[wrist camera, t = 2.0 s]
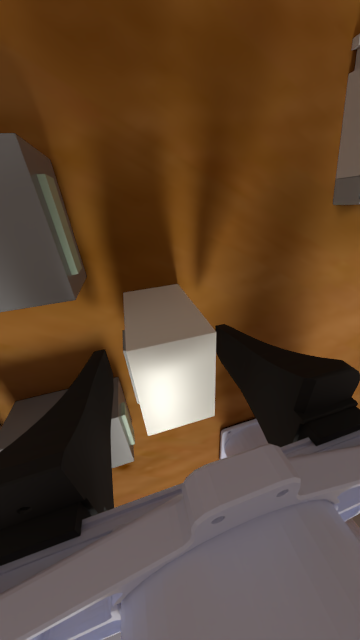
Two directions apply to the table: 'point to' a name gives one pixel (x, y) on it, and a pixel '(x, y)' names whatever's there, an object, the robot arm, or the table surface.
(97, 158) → the table surface
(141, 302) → the block
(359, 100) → the circuit breaker
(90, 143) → the table surface
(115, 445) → the mounted modules
